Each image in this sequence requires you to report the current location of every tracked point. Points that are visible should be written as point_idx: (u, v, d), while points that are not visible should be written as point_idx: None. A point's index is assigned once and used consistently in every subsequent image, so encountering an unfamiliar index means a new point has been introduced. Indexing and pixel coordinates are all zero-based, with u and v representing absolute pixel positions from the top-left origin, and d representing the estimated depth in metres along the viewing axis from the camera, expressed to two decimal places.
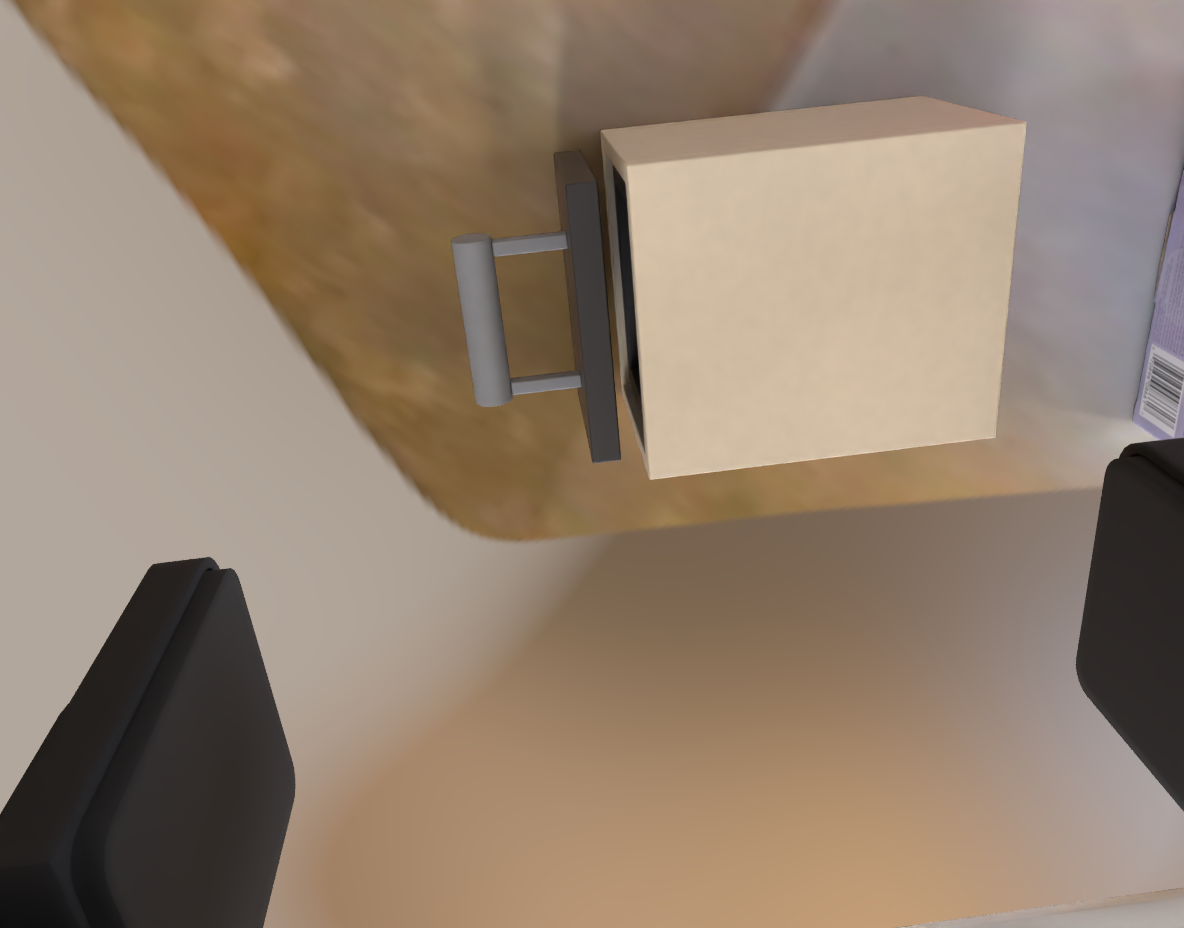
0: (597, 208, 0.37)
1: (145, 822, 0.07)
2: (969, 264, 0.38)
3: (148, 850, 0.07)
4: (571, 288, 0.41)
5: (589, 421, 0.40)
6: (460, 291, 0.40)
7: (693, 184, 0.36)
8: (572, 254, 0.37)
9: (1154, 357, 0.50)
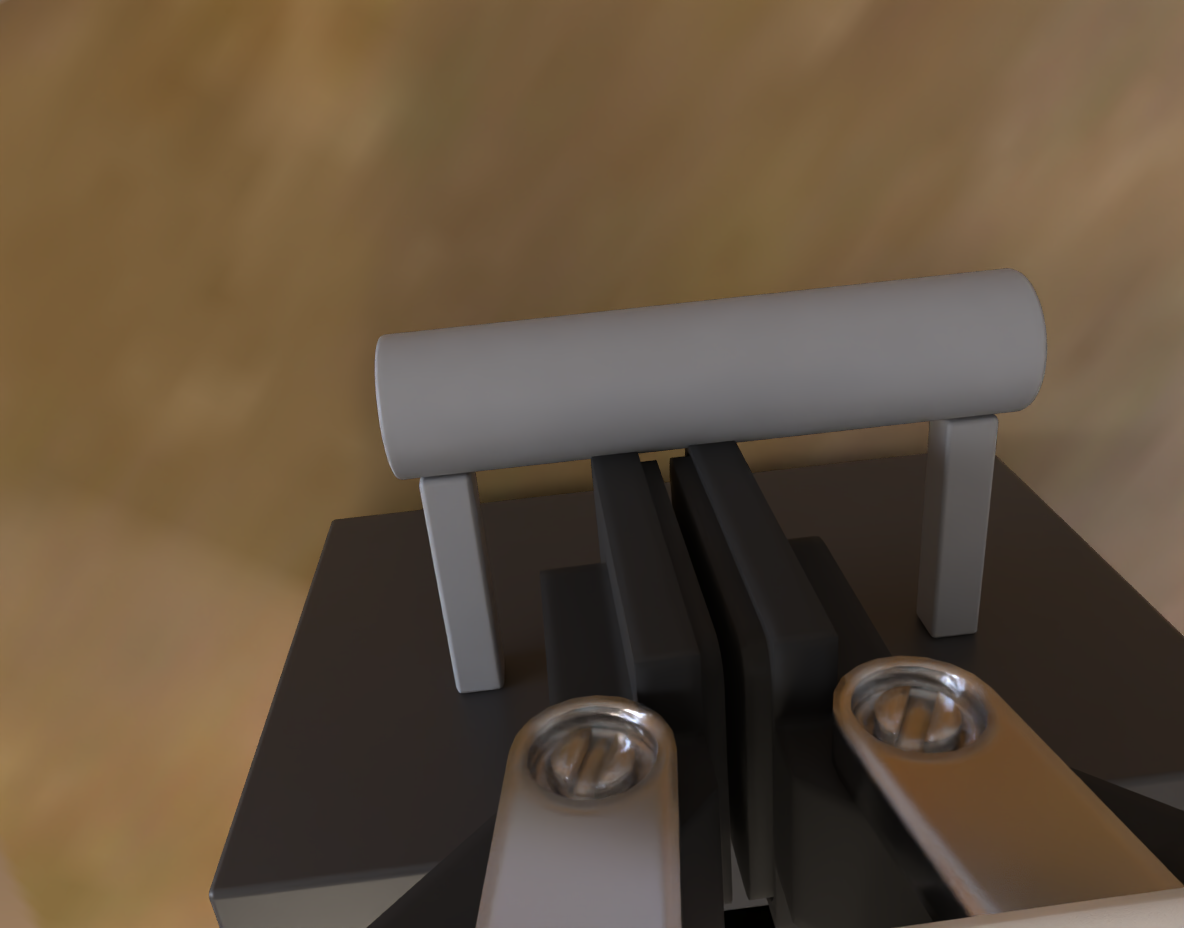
0: None
1: None
2: None
3: None
4: None
5: (398, 872, 0.10)
6: (846, 307, 0.10)
7: None
8: None
9: None
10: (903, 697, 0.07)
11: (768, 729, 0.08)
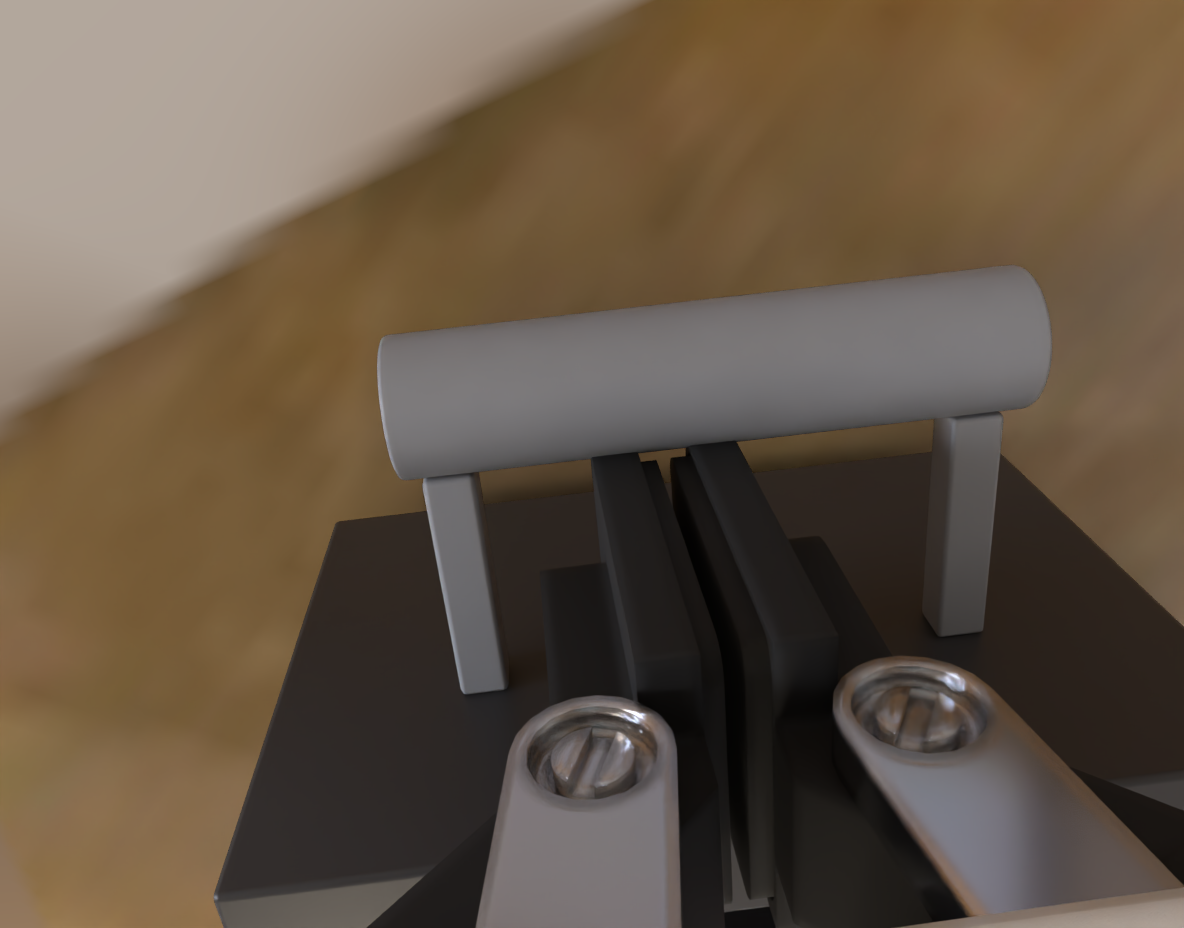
0: None
1: None
2: None
3: None
4: None
5: (403, 874, 0.10)
6: (850, 304, 0.10)
7: None
8: None
9: None
10: (903, 697, 0.07)
11: (769, 729, 0.08)
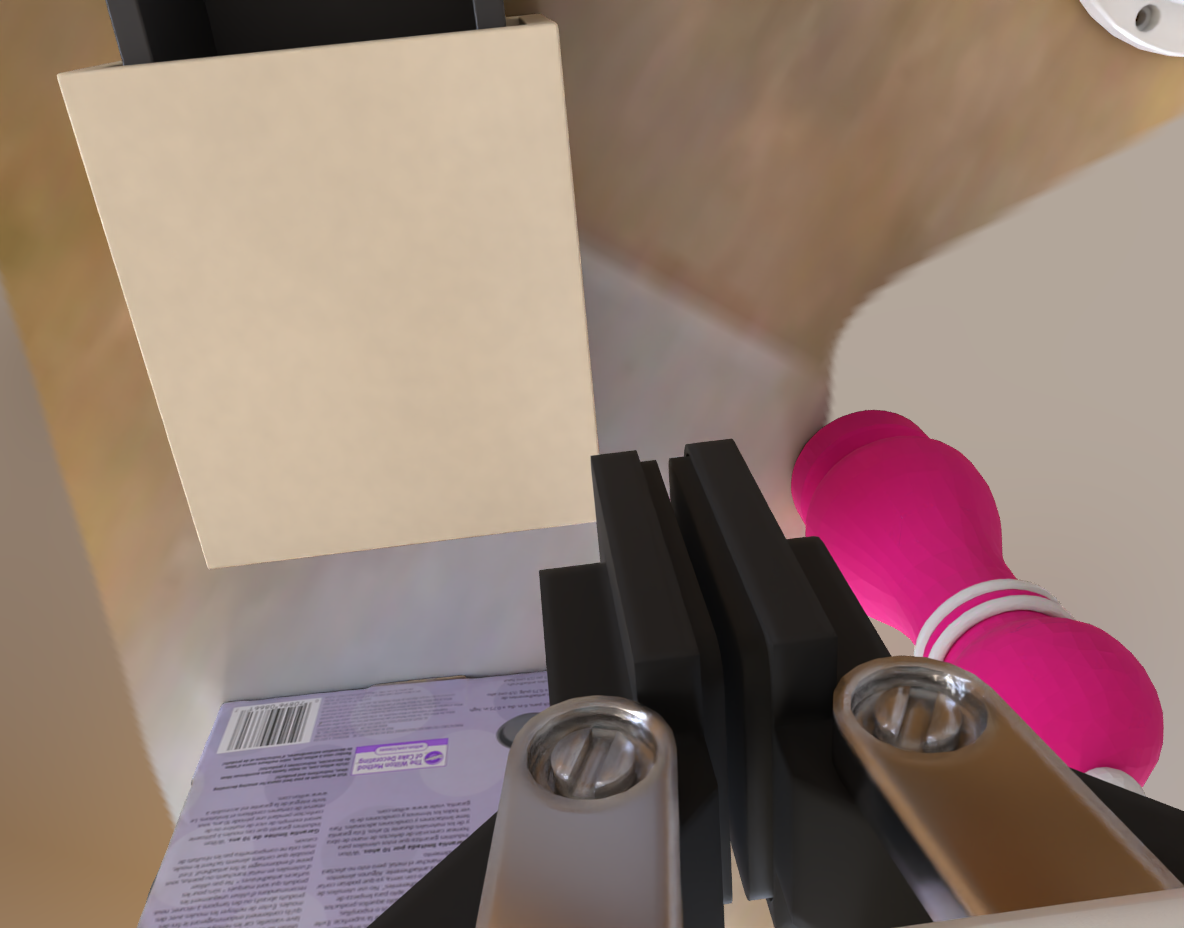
0: None
1: None
2: (439, 492, 0.31)
3: None
4: None
5: None
6: None
7: (532, 123, 0.26)
8: None
9: (306, 704, 0.44)
10: (903, 697, 0.07)
11: (767, 729, 0.08)
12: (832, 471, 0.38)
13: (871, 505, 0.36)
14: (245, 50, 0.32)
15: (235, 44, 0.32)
